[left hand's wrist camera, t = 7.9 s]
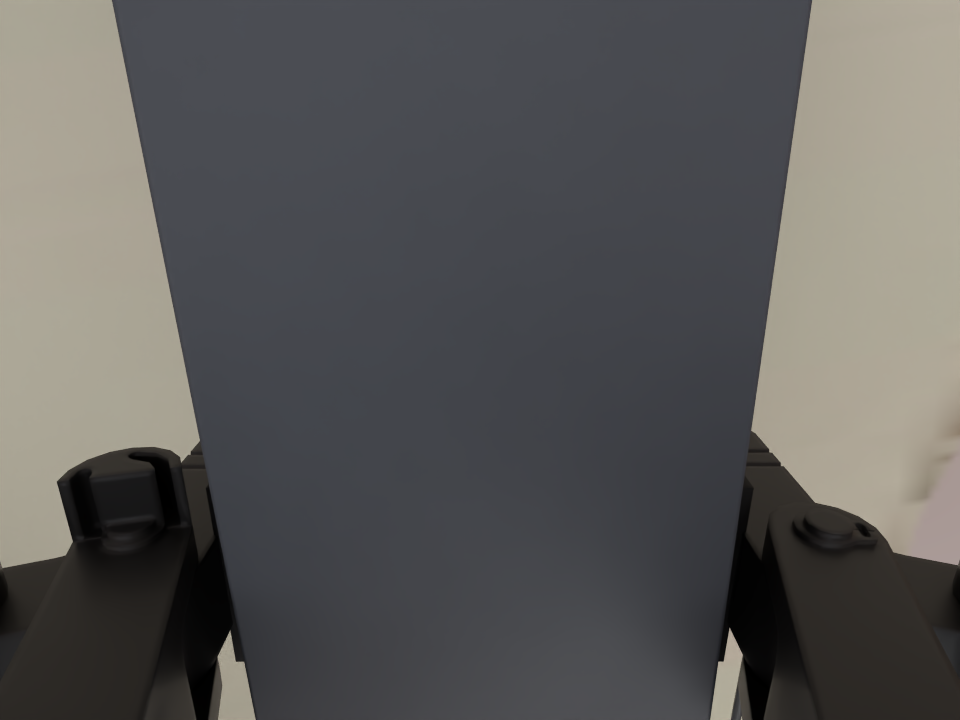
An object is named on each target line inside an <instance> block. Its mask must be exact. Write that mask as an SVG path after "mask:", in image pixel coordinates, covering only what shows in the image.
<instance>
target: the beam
mask: <svg viewBox="0 0 960 720" xmlns="http://www.w3.org/2000/svg"><path fill="white" fill-rule="evenodd" d="M112 2H113V7H114V12H115V17H116V22H117V27H118V32H119V37H120V42H121V47H122V52H123V57H124V62H125V67H126V72H127V77H128V82H129V87H130V92H131V97H132V102H133V107H134V112H135V117H136V122H137V127H138V132H139V137H140V142H141V147H142V152H143V157H144V162H145V167H146V172H147V177H148V182H149V187H150V192H151V197H152V202H153V207H154V212H155V217H156V222H157V227H158V232H159V237H160V242H161V247H162V252H163V257H164V262H165V267H166V272H167V277H168V282H169V287H170V292H171V297H172V302H173V307H174V312H175V317H176V322H177V327H178V332H179V337H180V342H181V347H182V352H183V357H184V362H185V367H186V372H187V377H188V382H189V387H190V392H191V397H192V402H193V407H194V412H195V417H196V422H197V427H198V432H199V438H200V443H201V448H202V453H203V458H204V463H205V468H206V473H207V478H208V483H209V488H210V493H211V498H212V503H213V508H214V513H215V518H216V523H217V528H218V533H219V538H220V543H221V548H222V553H223V558H224V563H225V568H226V573H227V578H228V583H229V588H230V593H231V598H232V603H233V608H234V613H235V618H236V623H237V628H238V633H239V638H240V643H241V648H242V653H243V658H244V663H245V668H246V673H247V678H248V683H249V688H250V693H251V698H252V703H253V708H254V713H255V718H256V720H710V716H711V709H712V702H713V695H714V688H715V681H716V674H717V667H718V660H719V653H720V646H721V639H722V632H723V625H724V618H725V611H726V604H727V596H728V589H729V582H730V575H731V568H732V561H733V554H734V547H735V540H736V533H737V526H738V519H739V512H740V505H741V498H742V491H743V484H744V477H745V470H746V463H747V455H748V448H749V441H750V434H751V427H752V420H753V413H754V406H755V399H756V392H757V385H758V378H759V371H760V364H761V357H762V350H763V343H764V336H765V329H766V321H767V314H768V307H769V300H770V293H771V286H772V279H773V272H774V265H775V258H776V251H777V244H778V237H779V230H780V223H781V216H782V209H783V202H784V195H785V188H786V180H787V173H788V166H789V159H790V152H791V145H792V138H793V131H794V124H795V117H796V110H797V103H798V96H799V89H800V82H801V75H802V68H803V61H804V54H805V46H806V39H807V32H808V25H809V18H810V11H811V4H812V0H112Z"/></svg>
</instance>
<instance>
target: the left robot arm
mask: <svg viewBox="0 0 960 720" xmlns="http://www.w3.org/2000/svg"><path fill="white" fill-rule="evenodd" d="M57 484H58V488H59V491H60V495H61V499H62V503H63V506H64V510H65V514H66V517H67V521H68V525H69V529H70V532H71V536H72V540H73V543H72V545H71V547H70V549H69V550H68V552H67V554H66V556H62V557H58V558H54V559H49V560H44V561H38V562H33V563H28V564H23V565H17V566H12V567H7V568H2V566H1V563H0V720H218V714H219V706H220V699H221V691H222V680H221V673H220V668H219V662H218V657H217V656H218V654H219V652H220V650H221V648H222V646H223V644H224V642H225V640H226V638H227V636H228V634H229V632H230V630H231V636H232V641H233V647H234V653H235V659H236V662H244V658H243V653H242V648H241V643H240V638H239V633H238V628H237V623H236V618H235V613H234V608H233V603H232V598H231V593H230V588H229V583H228V578H227V573H226V568H225V563H224V558H223V553H222V548H221V543H220V538H219V533H218V528H217V523H216V518H215V513H214V508H213V503H212V498H211V493H210V488H209V483H208V478H207V473H206V468H205V463H204V458H203V453H202V448H201V443H200V442H199V443H198V444H197V445H196V446H195V448H194V449H193V450H192V451H191V455H188V456H187V457H186V458H185V459H184V460H183V462H182V463H181V460H180V457H179V456H178V455H176V454H175V453H173V452H172V451H171V450H166V449H161V448H156V447H140V448H129V449H124V450H118V451H113V452H109V453H106V454H103V455H100V456H97V457H94V458H92V459H89V460H86V461H85V462H83V463H81V464H79V465H77V466H76V467H74V468H72V469H70V470H68V471H67V472H66V473H65V474H64V475H63V476H62V477H61V478H60V479H59V480H58V481H57ZM729 627H730V629H731V631H732V633H733V635H734V637H735V639H736V641H737V643H738V646H739V648H740V650H741V652H742V654H743V657H742V662H741V668H740V673H739V678H738V684H737V689H736V694H735V699H734V705H733V710H732V716H731V720H741V716H742V720H960V561H959V564H958V565H953V564H948V563H942V562H937V561H932V560H927V559H922V558H916V557H911V556H906V555H902V554H898V553H894V552H893V551H892V549H891V547H890V545H889V544H888V542H887V540H886V539H885V538H884V537H883V536H882V534H881V533H880V532H879V531H878V530H877V528H875V527H874V526H872V525H871V524H869V523H868V522H866V521H865V520H863V519H862V518H860V517H858V516H856V515H854V514H851V513H849V512H846V511H844V510H841V509H839V508H836V507H831V506H827V505H822V504H818V503H815V502H814V501H813V500H812V499H811V498H810V496H809V495H808V494H807V493H806V492H805V491H804V489H803V488H802V487H801V486H800V485H799V484H798V482H797V481H796V480H795V479H794V478H793V477H792V475H791V474H790V473H789V472H788V471H787V470H786V469H785V467H784V466H781V463H780V462H779V460H778V459H777V458H776V457H775V456H774V455H773V453H769V449H768V448H767V446H766V445H765V444H764V443H763V442H762V441H761V439H760V438H759V437H758V436H757V435H756V434H755V433H754V432H752V431H751V434H750V441H749V448H748V455H747V463H746V470H745V477H744V484H743V491H742V498H741V505H740V512H739V519H738V526H737V533H736V540H735V547H734V554H733V561H732V568H731V575H730V582H729V589H728V596H727V604H726V611H725V618H724V625H723V632H722V639H721V646H720V653H719V660H718V661H724V656H725V650H726V645H727V639H728V633H729Z"/></svg>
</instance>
